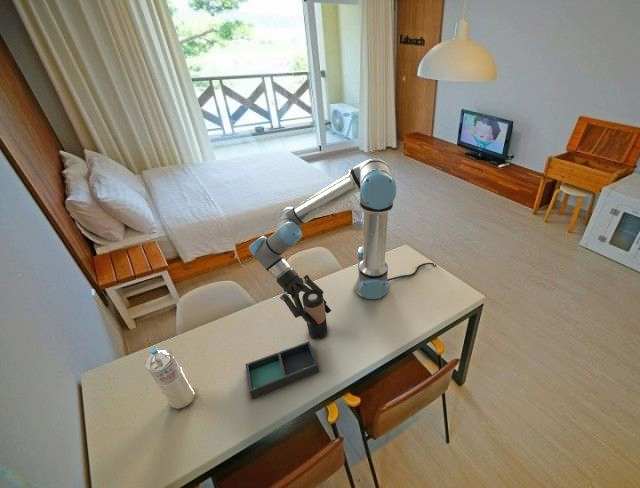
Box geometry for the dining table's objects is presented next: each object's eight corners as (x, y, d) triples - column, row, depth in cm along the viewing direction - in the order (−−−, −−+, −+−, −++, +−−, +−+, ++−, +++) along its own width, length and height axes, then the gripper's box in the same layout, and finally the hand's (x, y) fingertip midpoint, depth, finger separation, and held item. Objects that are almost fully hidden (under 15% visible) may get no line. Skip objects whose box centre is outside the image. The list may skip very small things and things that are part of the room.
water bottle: (169, 413, 100) (136, 364, 86) (173, 394, 105) (141, 344, 92) (194, 405, 103) (165, 356, 89) (196, 386, 108) (169, 337, 94)
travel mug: (323, 341, 125) (317, 304, 114) (305, 337, 126) (298, 301, 115) (330, 326, 131) (326, 290, 120) (313, 323, 133) (307, 287, 121)
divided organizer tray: (310, 348, 122) (309, 341, 120) (319, 372, 114) (317, 364, 112) (248, 371, 113) (245, 364, 111) (252, 399, 105) (249, 391, 103)
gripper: (297, 262, 129) (333, 305, 132) (258, 292, 114) (300, 339, 117) (306, 255, 124) (343, 299, 128) (266, 286, 109) (310, 335, 112)
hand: (322, 318), depth 122 cm, fingers closed on travel mug, 7 cm apart
